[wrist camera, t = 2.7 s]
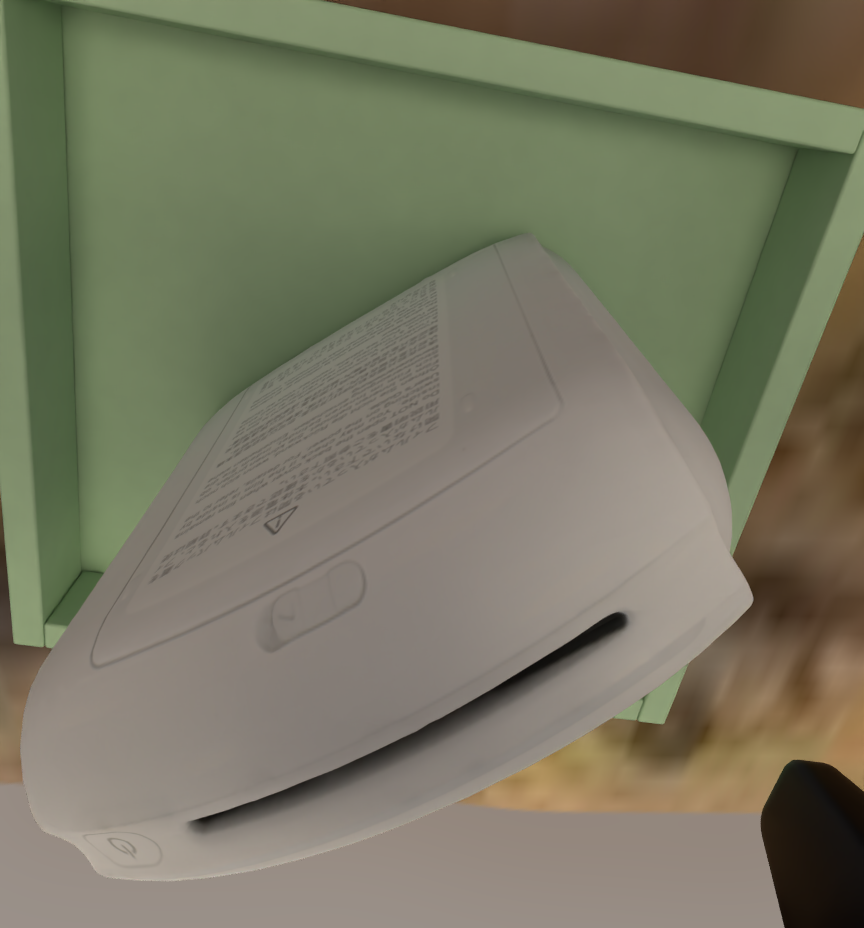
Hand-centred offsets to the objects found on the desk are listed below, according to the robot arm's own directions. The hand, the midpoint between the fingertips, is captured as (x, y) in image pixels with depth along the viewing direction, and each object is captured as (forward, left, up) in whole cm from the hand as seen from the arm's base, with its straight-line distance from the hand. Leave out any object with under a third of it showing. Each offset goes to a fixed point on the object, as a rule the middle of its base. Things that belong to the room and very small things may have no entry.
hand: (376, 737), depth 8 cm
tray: (0, +1, -13) cm, 13 cm away
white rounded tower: (0, +1, -12) cm, 12 cm away
